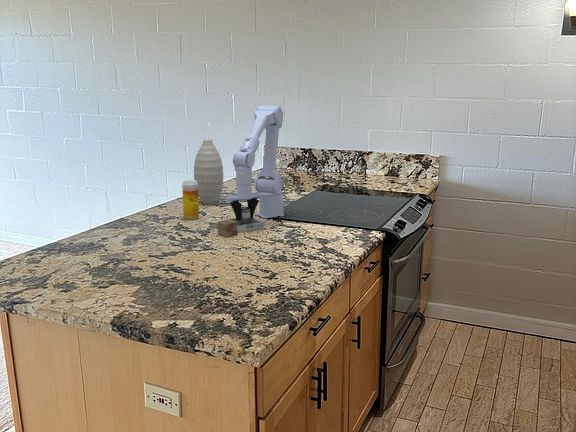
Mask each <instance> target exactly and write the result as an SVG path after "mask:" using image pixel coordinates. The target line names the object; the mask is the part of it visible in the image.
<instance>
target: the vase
mask: <svg viewBox="0 0 576 432" xmlns="http://www.w3.org/2000/svg"><path fill="white" fill-rule="evenodd" d="M220 155H221V154H220V153H219V151H218V150H217V148H216V146H215V144H214V143H213V139H211V138H205V139H203V140H202V144H201V146H200V147H199V149H198V151H197V153H196V155H195V160H194V164H193V165H194V166H193V180H196V181H197V183H198V199H199V201H200V202H201V203H202V204H203V205H205V206H206V205H207V206H211V205H212V206H213V205H216V204H217V203H218V201H219V200H220V196H221V195H222V191H223V187H224V168H223V167H224V165H223V162H222V158H221V156H220Z"/></svg>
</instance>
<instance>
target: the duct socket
mask: <svg viewBox="0 0 576 432" xmlns="http://www.w3.org/2000/svg"><path fill="white" fill-rule="evenodd" d="M228 219H229V220H233V221H236V222H237V231H238V233H245V232H253V231H261V230H264V221H261V219H258V218H257V217H255V216H253V219H251V224H243V225H239V224H238V220H236V217H234V218H233V217H231V218H226V219H225V220H228Z"/></svg>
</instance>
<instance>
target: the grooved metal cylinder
mask: <svg viewBox="0 0 576 432" xmlns="http://www.w3.org/2000/svg"><path fill="white" fill-rule="evenodd" d="M238 224H239V225H243V224H252V223H251V208H250V207H248V206H241V219H240V221H238Z"/></svg>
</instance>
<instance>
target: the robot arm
mask: <svg viewBox="0 0 576 432" xmlns="http://www.w3.org/2000/svg"><path fill="white" fill-rule="evenodd" d="M253 115H254V122H253V125H252V128H251V130H250V134H248V135H246V136H245V138H244V140H243V141H242V144H241V147H240V148H239V150H238V151H236V152H235V153H234V154H233V159H232V165H233V166H234V171H235V173H236V176H235V177H236V178H235V182H236V184H235V185H236V194H233V195H229V196H226V197H225V202H226V203H228V204H229V205H230V206H231V208H232V210H233V213H234V216H235V217H234V218H236V220H238V221H240V219H241V207H243V206H242V204H243V203H240V202H242V201H246V202H247V207H250V208H251V219H253V216H254V214H256V215H257V216H259V217H260V218H262V219H270V218H278V217H277V216H280V217H285V214H284V213H285V211H284V207H285V204H284V203H285V201H284V196H283V193H281V191H282V190H283V182H282V175H281V174H280V173H279V172H278V171H277V170H276V166H277V155H278V145H279V143H278V142H279V133H280V129H282V127H283V119H284V112H283V109H282V107H281V106H280V105H276V106H275V105H262V104H261V105H260V104H258V105H257V106H256V107H255V108H254V114H253ZM264 130H265V141H264V151H263V152H264V153H263V165H262V169H261V171H259V172H258V173H257V175H256V178H255V182H254V189H255V191H256V192H253V184H252V183H253V181H252V178H253V176H252V172H253V171H252V169H253V166H254V165H255V161H256V160H255V159H256V152H257V150H258V148H259V145H260V143H261V142H260V140H259V139H260V137H261V135H262V133H263V132H264ZM258 205H259V212H255V211H256V209H257V207H258ZM254 217H255V216H254Z"/></svg>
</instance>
